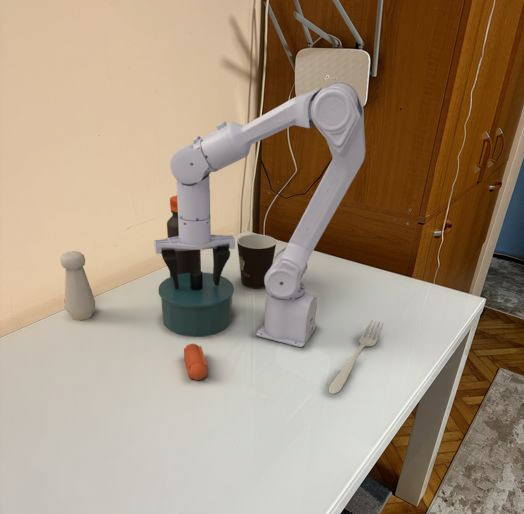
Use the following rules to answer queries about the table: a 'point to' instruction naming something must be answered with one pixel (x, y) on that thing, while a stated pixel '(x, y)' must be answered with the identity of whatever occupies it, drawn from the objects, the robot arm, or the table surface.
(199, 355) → the hot dog
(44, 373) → the table surface
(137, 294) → the table surface
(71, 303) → the salt shaker
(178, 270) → the bottle
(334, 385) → the fork
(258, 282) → the coffee mug
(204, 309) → the pot
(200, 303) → the pot lid
